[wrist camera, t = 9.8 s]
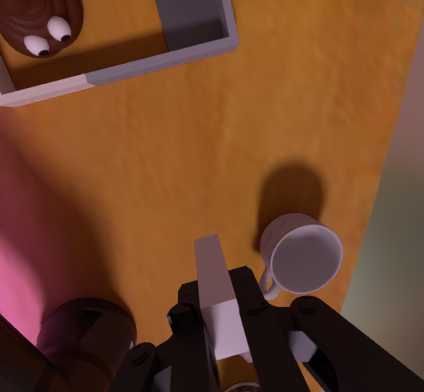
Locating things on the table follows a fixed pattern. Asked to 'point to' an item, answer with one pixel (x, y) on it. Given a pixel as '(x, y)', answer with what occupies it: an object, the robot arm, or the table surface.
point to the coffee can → (244, 387)
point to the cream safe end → (37, 89)
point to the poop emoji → (40, 25)
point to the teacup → (298, 255)
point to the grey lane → (182, 38)
